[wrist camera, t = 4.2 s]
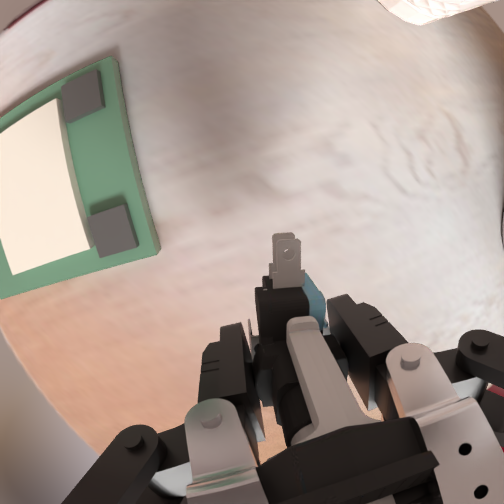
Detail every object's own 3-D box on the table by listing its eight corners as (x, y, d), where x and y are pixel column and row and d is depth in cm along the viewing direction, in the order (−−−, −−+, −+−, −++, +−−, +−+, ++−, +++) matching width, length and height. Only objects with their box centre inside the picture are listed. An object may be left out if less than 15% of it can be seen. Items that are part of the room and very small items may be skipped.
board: (117, 61, 13) (104, 48, 11) (161, 248, 16) (152, 261, 14) (-28, 149, 12) (-48, 150, 10) (8, 293, 16) (-8, 306, 14)
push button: (210, 234, 10) (148, 562, 1) (349, 226, 11) (583, 384, 1) (225, 376, 12) (235, 591, 3) (337, 363, 13) (426, 543, 3)
